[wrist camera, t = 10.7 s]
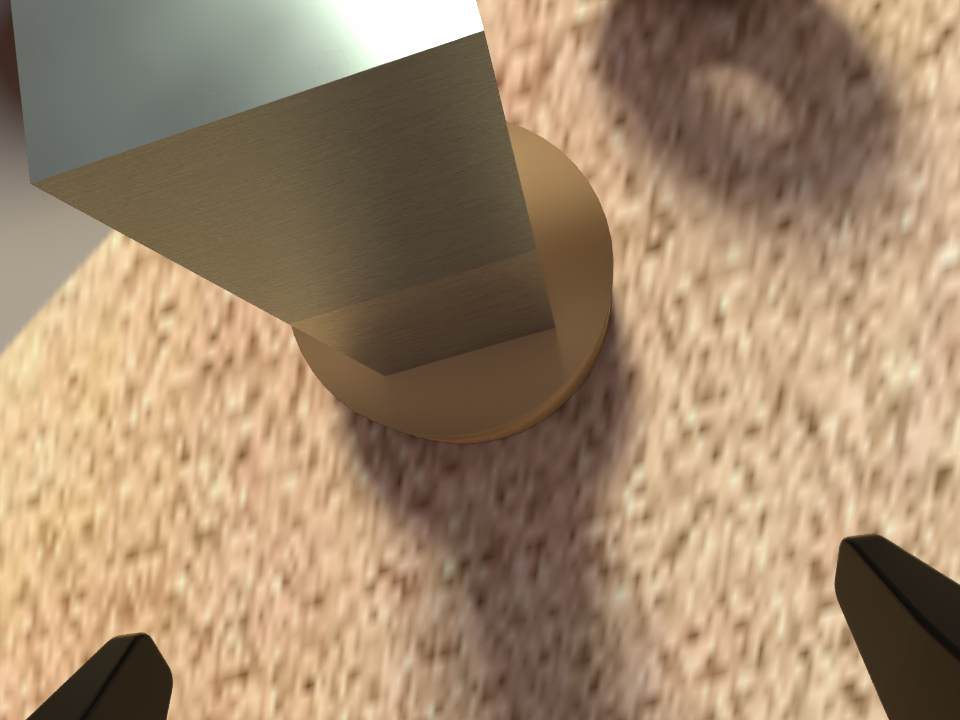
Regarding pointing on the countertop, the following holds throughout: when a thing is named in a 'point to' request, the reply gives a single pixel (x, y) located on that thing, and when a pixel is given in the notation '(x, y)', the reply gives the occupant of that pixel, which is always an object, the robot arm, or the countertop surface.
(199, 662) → the countertop surface
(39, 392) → the countertop surface
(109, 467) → the countertop surface
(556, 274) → the pedestal
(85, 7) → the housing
